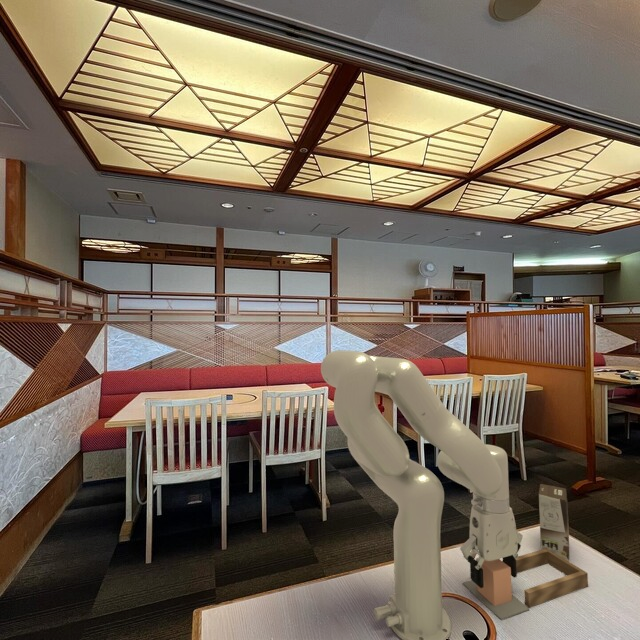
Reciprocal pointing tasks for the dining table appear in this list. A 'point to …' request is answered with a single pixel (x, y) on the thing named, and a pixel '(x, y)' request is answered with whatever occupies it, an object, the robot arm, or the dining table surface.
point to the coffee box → (554, 520)
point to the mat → (503, 609)
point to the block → (496, 582)
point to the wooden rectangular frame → (556, 587)
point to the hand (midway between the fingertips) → (493, 578)
